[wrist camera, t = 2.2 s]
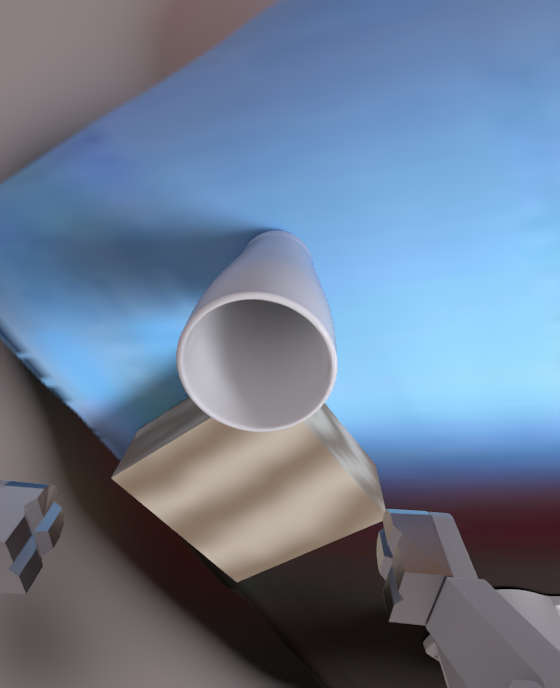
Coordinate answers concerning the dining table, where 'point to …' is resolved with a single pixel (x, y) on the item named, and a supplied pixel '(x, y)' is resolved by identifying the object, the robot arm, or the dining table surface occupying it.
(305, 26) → the dining table surface
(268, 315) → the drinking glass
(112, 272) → the dining table surface
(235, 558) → the birch block
